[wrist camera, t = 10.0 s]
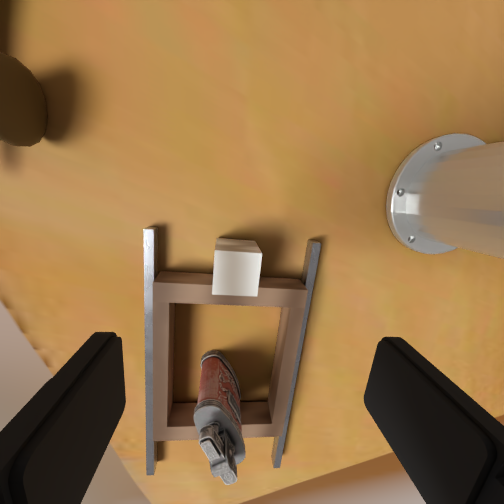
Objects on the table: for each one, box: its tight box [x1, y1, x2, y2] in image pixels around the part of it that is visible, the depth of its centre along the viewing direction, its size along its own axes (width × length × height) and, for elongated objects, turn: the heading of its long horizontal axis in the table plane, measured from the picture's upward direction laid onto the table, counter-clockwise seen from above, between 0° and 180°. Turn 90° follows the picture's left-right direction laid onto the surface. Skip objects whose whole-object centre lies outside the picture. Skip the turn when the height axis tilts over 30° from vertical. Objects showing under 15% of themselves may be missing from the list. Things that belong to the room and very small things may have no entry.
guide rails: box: [144, 227, 321, 475], centre depth 28 cm, size 18×32×2 cm, turn 174°
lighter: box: [194, 350, 245, 485], centre depth 24 cm, size 8×3×10 cm, turn 21°
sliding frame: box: [153, 238, 308, 441], centre depth 25 cm, size 15×23×5 cm, turn 174°
